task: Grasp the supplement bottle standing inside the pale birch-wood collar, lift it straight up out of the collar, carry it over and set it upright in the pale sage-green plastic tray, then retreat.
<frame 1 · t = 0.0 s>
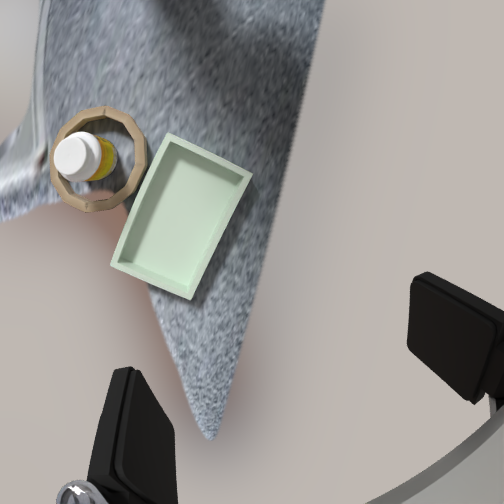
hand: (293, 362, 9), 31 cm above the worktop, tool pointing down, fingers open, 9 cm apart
tray: (178, 216, 37), on the worktop
collar: (99, 159, 33), on the worktop
supplement bottle: (99, 159, 33), resting in collar
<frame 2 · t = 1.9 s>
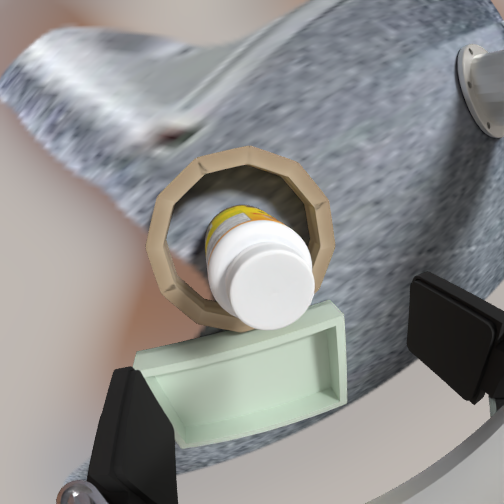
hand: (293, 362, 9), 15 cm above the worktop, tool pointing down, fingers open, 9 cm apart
tray: (247, 376, 26), on the worktop
collar: (240, 239, 22), on the worktop
supplement bottle: (240, 238, 23), resting in collar
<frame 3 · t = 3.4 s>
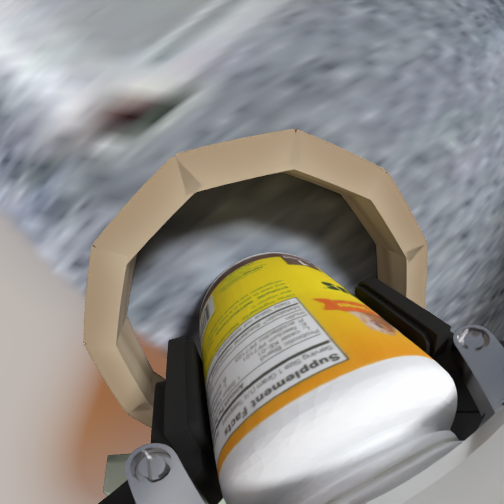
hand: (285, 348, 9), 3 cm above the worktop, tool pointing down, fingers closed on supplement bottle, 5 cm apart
tray: (266, 474, 16), on the worktop
collar: (265, 312, 12), on the worktop
supplement bottle: (264, 309, 12), resting in collar, touching gripper
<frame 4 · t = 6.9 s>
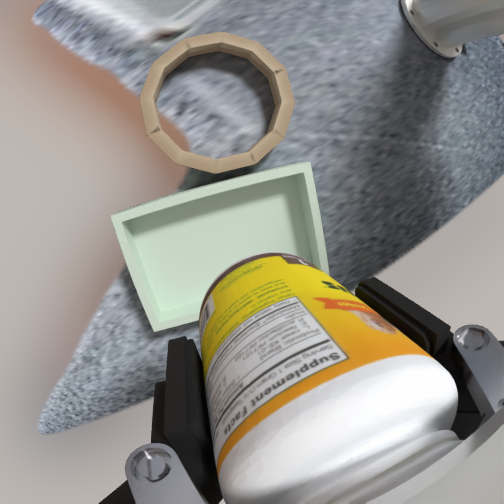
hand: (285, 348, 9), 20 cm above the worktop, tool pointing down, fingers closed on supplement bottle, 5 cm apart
tray: (224, 241, 28), on the worktop
collar: (216, 102, 24), on the worktop
supplement bottle: (264, 309, 12), point 17 cm above the worktop, touching gripper
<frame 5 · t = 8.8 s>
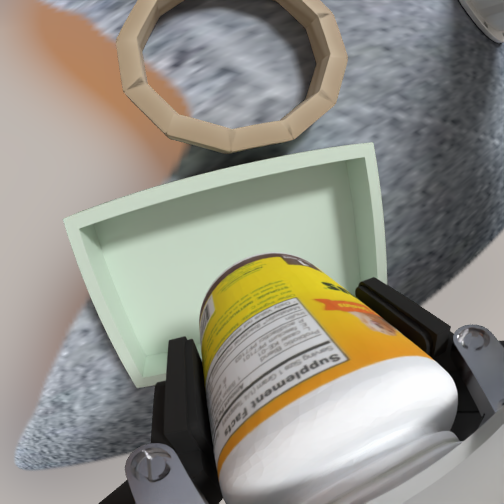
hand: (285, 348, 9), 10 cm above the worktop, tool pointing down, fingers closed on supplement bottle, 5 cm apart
tray: (239, 259, 19), on the worktop
collar: (231, 51, 15), on the worktop
supplement bottle: (264, 309, 12), point 7 cm above the worktop, touching gripper
when the fingers open (5 cm above the worktop, at t = 10.3 s): supplement bottle drops 1 cm, resting on tray.
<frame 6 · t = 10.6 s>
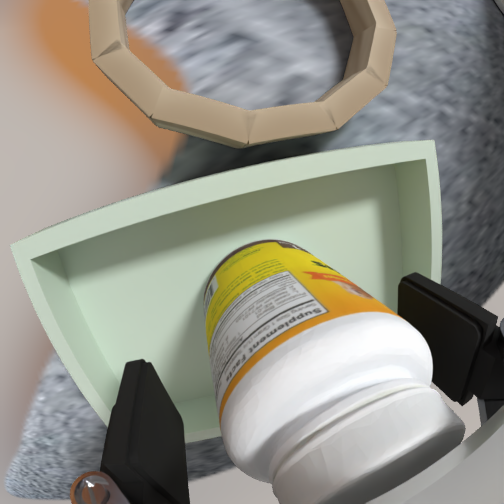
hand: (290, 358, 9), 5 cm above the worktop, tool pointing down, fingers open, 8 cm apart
tray: (255, 293, 14), on the worktop
collar: (245, 14, 10), on the worktop
supplement bottle: (262, 292, 13), resting on tray
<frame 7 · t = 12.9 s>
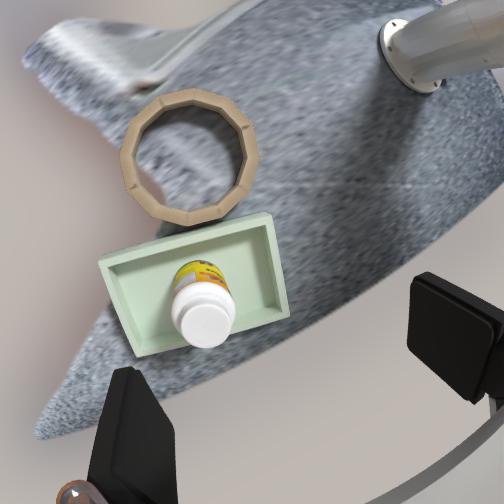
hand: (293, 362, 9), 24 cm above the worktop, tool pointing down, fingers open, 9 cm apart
tray: (196, 282, 32), on the worktop
collar: (189, 156, 28), on the worktop
supplement bottle: (198, 281, 31), resting on tray
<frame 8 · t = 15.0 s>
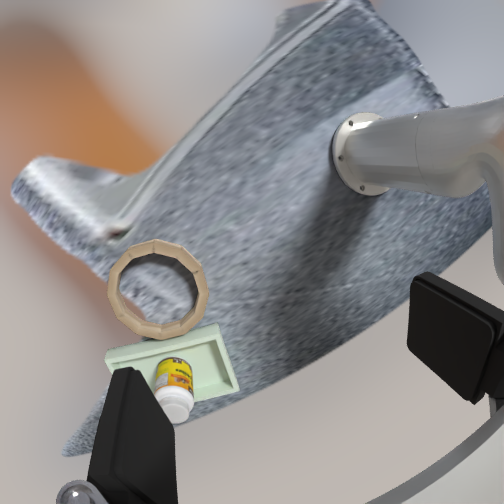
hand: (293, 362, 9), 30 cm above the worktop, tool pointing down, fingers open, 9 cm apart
tray: (173, 366, 42), on the worktop
collar: (158, 288, 38), on the worktop
supplement bottle: (174, 367, 41), resting on tray
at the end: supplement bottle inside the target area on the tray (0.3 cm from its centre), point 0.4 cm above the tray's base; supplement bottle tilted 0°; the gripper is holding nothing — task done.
